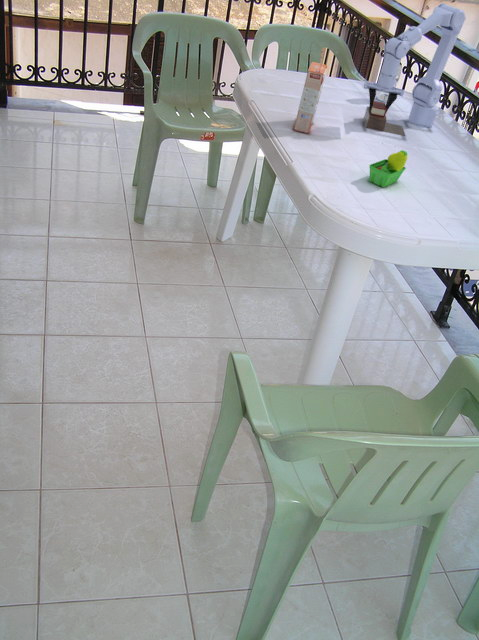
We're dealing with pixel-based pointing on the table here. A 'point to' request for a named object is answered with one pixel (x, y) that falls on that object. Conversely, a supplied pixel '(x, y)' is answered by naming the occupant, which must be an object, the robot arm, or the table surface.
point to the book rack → (381, 124)
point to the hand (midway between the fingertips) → (377, 111)
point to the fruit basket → (388, 169)
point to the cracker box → (310, 97)
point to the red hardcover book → (378, 109)
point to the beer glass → (383, 95)
